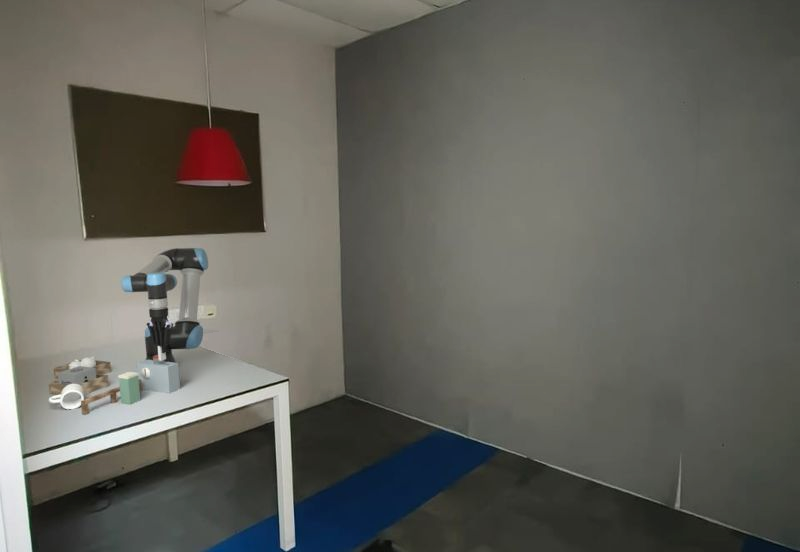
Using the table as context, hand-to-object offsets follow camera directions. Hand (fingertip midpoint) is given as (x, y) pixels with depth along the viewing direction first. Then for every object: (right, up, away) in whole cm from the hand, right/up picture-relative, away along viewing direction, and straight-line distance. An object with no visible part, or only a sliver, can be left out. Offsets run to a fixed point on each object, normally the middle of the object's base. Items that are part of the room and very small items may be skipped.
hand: (162, 359), depth 216 cm
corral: (-45, -13, +13) cm, 48 cm away
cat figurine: (-53, -12, +26) cm, 60 cm away
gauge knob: (-2, -2, +1) cm, 3 cm away
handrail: (-14, -16, -13) cm, 25 cm away
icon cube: (-38, -15, 0) cm, 40 cm away
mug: (-31, -17, -17) cm, 39 cm away
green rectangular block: (-7, -16, -13) cm, 21 cm away
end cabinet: (-3, -14, +3) cm, 14 cm away
